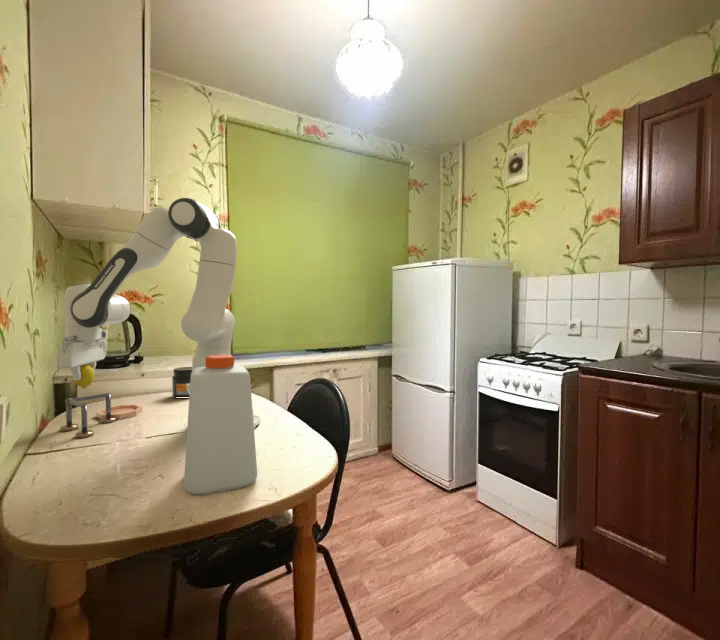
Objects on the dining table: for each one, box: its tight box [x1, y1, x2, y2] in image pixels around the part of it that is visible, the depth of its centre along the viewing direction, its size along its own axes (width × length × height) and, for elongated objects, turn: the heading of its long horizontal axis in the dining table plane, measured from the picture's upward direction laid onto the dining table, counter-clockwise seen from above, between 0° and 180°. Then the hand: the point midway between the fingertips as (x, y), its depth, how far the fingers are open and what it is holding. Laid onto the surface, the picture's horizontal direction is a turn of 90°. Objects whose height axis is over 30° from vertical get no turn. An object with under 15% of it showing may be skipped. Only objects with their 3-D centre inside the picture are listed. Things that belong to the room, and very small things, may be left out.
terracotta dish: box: [95, 403, 143, 421], centre depth 133 cm, size 13×13×2 cm
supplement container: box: [171, 366, 192, 398], centre depth 160 cm, size 10×10×12 cm
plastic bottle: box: [183, 354, 258, 496], centre depth 85 cm, size 15×15×28 cm
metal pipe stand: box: [59, 392, 117, 439], centre depth 118 cm, size 12×18×10 cm
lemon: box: [72, 364, 95, 390], centre depth 120 cm, size 6×6×8 cm
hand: (84, 377), depth 120 cm, fingers closed on lemon, 5 cm apart
